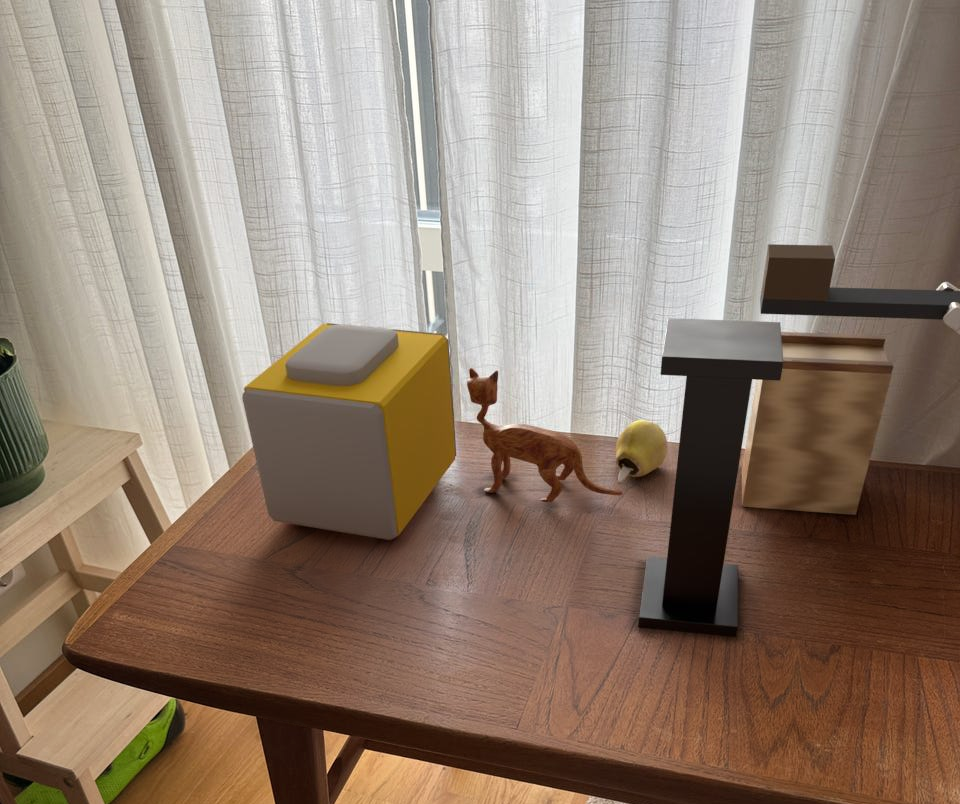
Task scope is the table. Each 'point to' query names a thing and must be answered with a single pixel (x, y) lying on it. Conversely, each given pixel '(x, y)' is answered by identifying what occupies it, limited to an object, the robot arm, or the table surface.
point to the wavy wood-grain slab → (816, 424)
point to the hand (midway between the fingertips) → (943, 300)
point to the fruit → (640, 449)
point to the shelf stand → (707, 470)
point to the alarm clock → (353, 428)
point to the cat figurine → (527, 444)
